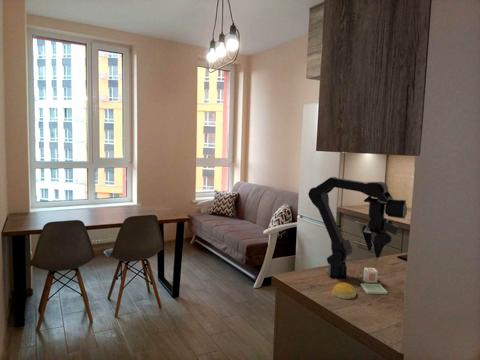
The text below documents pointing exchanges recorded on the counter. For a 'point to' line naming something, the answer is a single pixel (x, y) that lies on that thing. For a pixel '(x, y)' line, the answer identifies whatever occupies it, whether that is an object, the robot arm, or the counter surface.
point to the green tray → (373, 288)
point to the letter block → (370, 275)
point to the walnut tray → (369, 283)
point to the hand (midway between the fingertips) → (373, 253)
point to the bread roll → (344, 291)
